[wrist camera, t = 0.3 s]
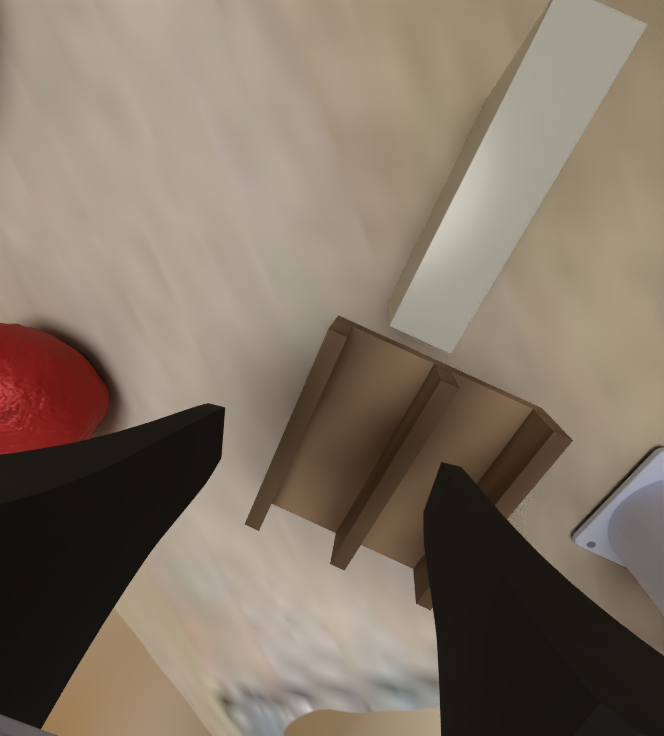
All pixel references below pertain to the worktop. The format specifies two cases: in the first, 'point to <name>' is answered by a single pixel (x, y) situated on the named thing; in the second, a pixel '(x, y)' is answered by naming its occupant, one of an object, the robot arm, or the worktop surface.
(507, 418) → the rack
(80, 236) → the worktop surface
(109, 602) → the robot arm
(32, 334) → the pomegranate
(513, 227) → the clay block
